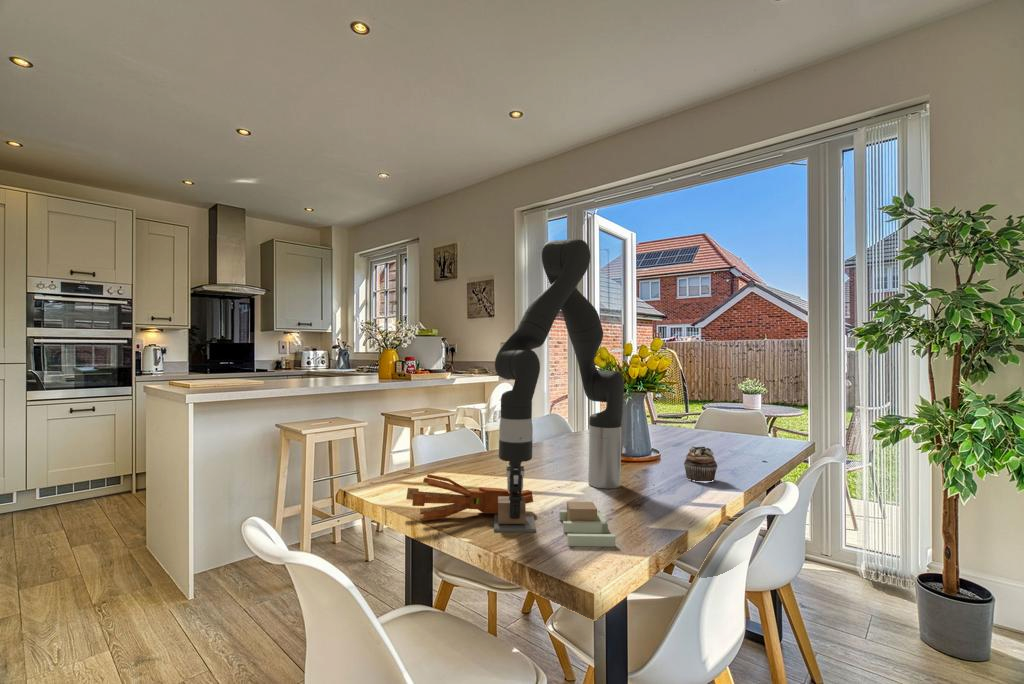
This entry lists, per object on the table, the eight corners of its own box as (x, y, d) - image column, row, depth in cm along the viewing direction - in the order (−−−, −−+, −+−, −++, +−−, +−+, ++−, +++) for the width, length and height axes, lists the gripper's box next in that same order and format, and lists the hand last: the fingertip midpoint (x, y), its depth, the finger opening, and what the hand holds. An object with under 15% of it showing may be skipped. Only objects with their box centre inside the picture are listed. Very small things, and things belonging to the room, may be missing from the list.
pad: (494, 517, 114) (494, 514, 114) (533, 517, 114) (533, 514, 114) (493, 531, 105) (493, 528, 105) (535, 532, 105) (535, 529, 105)
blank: (498, 516, 112) (498, 496, 112) (524, 516, 112) (524, 496, 112) (498, 523, 107) (498, 503, 107) (525, 523, 107) (525, 502, 107)
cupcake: (677, 476, 154) (677, 444, 154) (703, 475, 157) (704, 443, 157) (696, 485, 145) (696, 451, 145) (724, 483, 147) (724, 449, 148)
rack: (559, 518, 114) (559, 499, 114) (600, 519, 114) (600, 499, 114) (567, 545, 98) (568, 523, 98) (615, 546, 98) (615, 523, 98)
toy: (399, 502, 115) (513, 498, 128) (409, 533, 106) (531, 525, 119) (406, 465, 113) (521, 465, 126) (417, 493, 103) (541, 490, 117)
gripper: (534, 444, 103) (533, 525, 103) (530, 432, 117) (529, 503, 117) (498, 443, 103) (497, 525, 103) (499, 432, 117) (498, 503, 117)
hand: (514, 513), depth 110 cm, fingers open, 5 cm apart
